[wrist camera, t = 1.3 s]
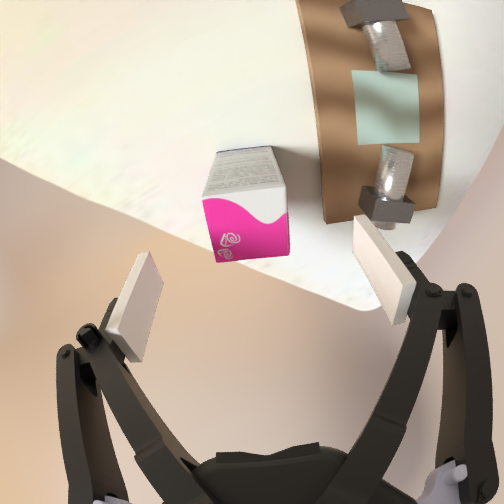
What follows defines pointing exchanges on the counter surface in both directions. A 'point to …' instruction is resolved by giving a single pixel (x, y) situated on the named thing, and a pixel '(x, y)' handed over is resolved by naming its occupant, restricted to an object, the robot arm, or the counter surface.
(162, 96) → the counter surface
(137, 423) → the robot arm
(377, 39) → the grey collared shaft
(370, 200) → the shaft
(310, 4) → the board
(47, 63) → the counter surface
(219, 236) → the supplement box
